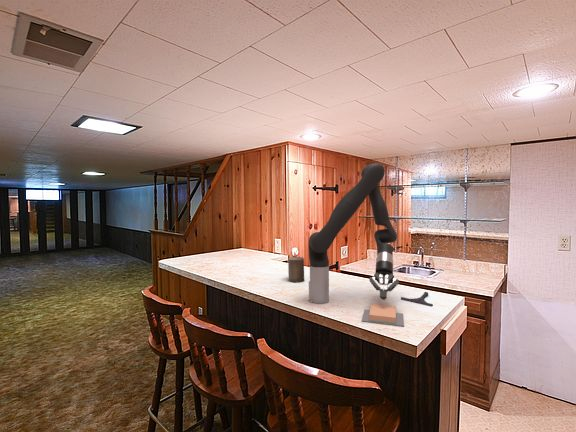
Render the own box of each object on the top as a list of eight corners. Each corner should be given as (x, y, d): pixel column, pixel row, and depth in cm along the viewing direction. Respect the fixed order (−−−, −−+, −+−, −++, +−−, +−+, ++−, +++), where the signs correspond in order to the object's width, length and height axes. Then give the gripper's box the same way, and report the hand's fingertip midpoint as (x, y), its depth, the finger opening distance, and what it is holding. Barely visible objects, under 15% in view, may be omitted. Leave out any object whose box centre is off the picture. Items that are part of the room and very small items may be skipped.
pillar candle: (307, 281, 181) (306, 256, 180) (292, 283, 177) (292, 258, 176) (299, 277, 190) (299, 254, 189) (285, 279, 185) (285, 255, 185)
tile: (371, 309, 133) (369, 320, 121) (371, 304, 133) (369, 314, 121) (395, 312, 130) (395, 324, 117) (395, 306, 129) (395, 317, 117)
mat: (361, 321, 121) (361, 320, 121) (364, 310, 133) (364, 309, 133) (404, 326, 116) (404, 325, 116) (403, 314, 128) (403, 313, 128)
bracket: (442, 300, 147) (442, 294, 147) (431, 308, 137) (431, 302, 137) (412, 293, 157) (412, 288, 157) (400, 300, 147) (400, 295, 147)
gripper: (369, 258, 138) (366, 293, 127) (399, 260, 133) (400, 296, 123) (369, 267, 143) (367, 301, 132) (399, 269, 139) (399, 304, 128)
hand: (383, 298), depth 127 cm, fingers closed
